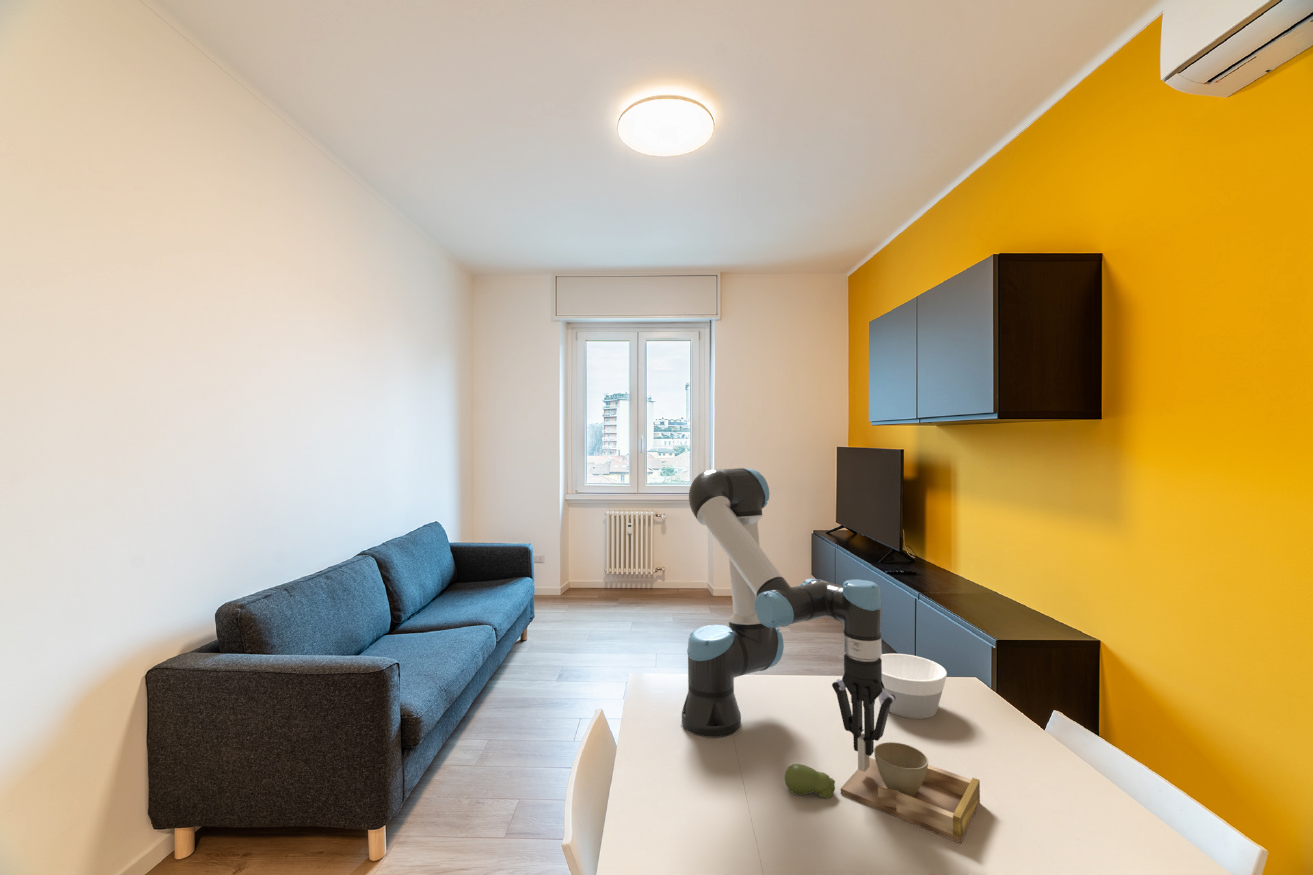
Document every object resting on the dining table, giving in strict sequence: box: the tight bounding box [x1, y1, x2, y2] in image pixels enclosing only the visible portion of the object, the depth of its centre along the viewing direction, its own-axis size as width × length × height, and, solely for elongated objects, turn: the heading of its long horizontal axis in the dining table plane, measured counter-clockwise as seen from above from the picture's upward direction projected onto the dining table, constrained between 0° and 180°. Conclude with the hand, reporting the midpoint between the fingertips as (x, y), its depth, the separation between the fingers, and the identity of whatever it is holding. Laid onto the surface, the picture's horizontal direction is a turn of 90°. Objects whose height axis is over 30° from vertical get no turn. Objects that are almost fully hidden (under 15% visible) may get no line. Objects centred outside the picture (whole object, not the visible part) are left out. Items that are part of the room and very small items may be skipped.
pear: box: [784, 763, 836, 800], centre depth 114 cm, size 6×5×10 cm
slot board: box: [840, 757, 981, 845], centre depth 112 cm, size 22×15×4 cm
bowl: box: [877, 653, 948, 720], centre depth 152 cm, size 19×19×11 cm
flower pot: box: [873, 741, 929, 797], centre depth 113 cm, size 10×10×7 cm
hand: (863, 767), depth 118 cm, fingers closed
